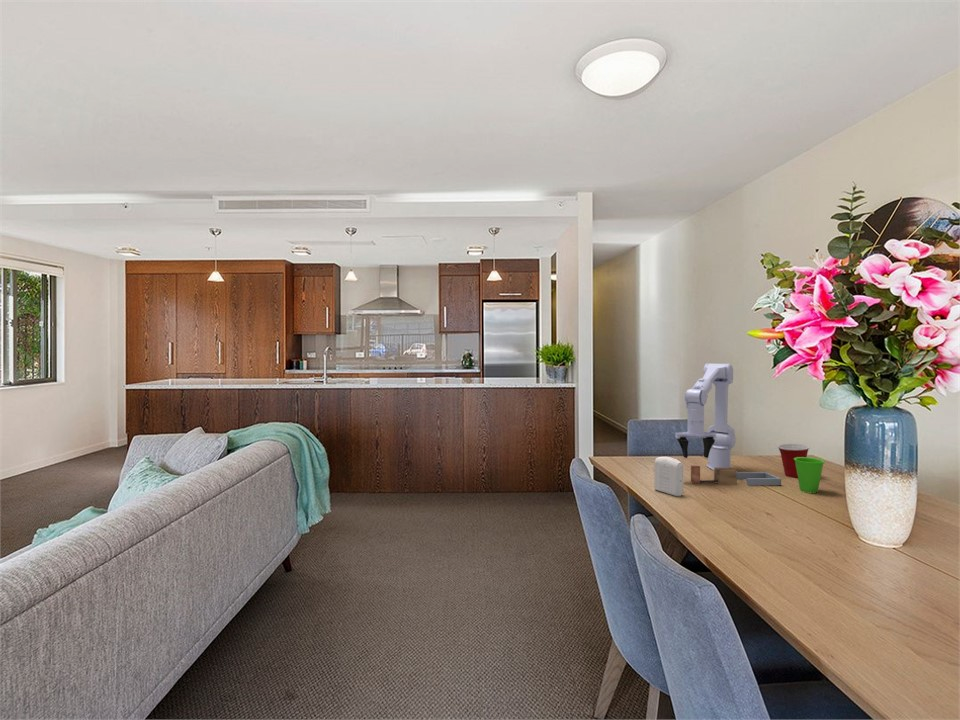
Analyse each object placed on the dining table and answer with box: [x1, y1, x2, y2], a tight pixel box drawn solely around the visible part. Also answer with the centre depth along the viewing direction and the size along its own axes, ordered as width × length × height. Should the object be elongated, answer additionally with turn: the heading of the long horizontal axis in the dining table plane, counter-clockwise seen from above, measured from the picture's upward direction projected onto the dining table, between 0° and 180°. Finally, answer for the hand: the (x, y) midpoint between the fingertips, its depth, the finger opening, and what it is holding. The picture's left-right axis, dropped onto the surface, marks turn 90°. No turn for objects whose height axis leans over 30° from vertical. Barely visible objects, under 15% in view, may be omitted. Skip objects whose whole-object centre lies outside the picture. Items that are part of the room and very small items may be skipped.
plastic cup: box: [777, 443, 810, 479], centre depth 197 cm, size 11×11×12 cm
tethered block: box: [690, 465, 738, 485], centre depth 189 cm, size 5×16×6 cm, turn 89°
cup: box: [794, 457, 826, 494], centre depth 177 cm, size 9×9×11 cm
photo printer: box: [654, 456, 684, 497], centre depth 177 cm, size 10×4×12 cm, turn 31°
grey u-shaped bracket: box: [737, 471, 782, 487], centre depth 189 cm, size 10×12×2 cm
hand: (695, 457), depth 189 cm, fingers open, 7 cm apart
